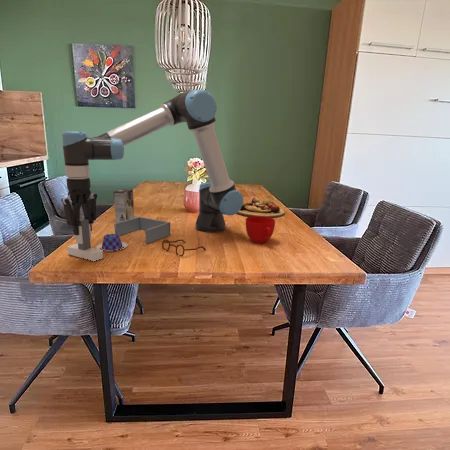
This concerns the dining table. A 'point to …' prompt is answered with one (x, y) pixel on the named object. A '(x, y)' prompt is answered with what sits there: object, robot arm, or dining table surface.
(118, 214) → the coffee box
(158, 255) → the dining table surface
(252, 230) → the ceramic cup
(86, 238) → the scraper
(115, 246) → the pudding
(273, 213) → the wooden plate with food
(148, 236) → the bin
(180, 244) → the glasses
